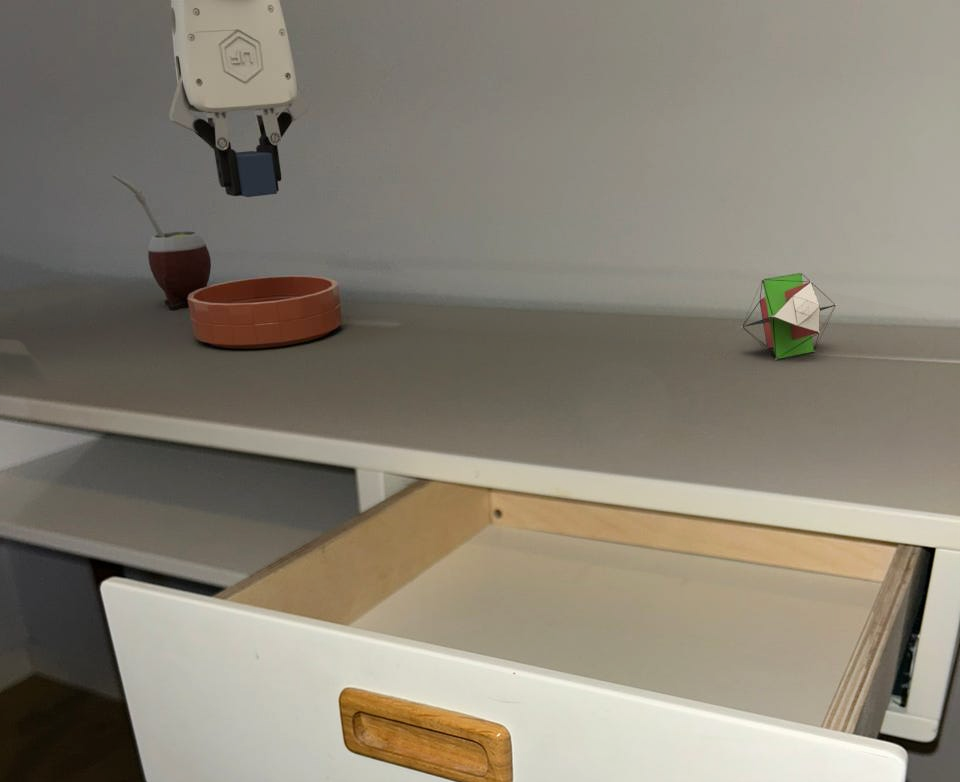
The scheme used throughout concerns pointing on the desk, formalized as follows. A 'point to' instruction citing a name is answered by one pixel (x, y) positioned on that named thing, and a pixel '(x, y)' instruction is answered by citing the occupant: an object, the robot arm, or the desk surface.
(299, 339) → the bowl
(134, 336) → the desk surface
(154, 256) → the mate gourd
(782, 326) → the geometric puzzle
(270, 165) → the blue rectangular block
